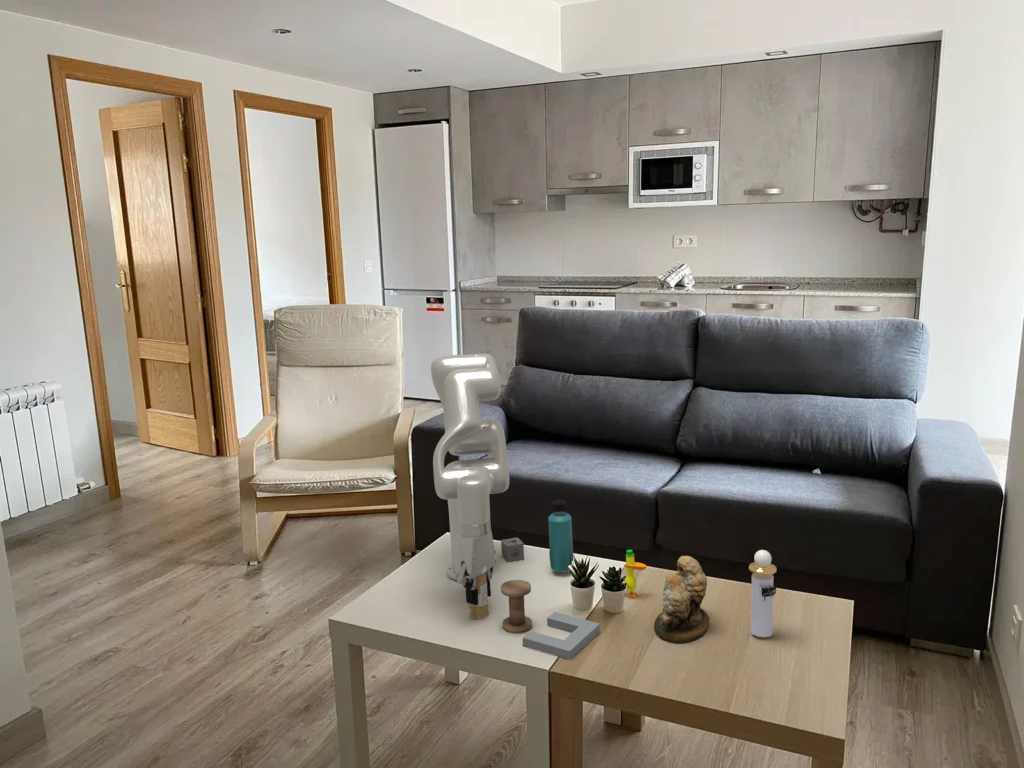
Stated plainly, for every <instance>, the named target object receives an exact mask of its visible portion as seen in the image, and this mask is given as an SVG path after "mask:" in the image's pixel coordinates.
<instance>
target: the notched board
mask: <svg viewBox="0 0 1024 768" xmlns="http://www.w3.org/2000/svg"><path fill="white" fill-rule="evenodd" d="M546 623H547V624H546V626H547V627H550V628H553V629H557V630H561V631H565V632H568V633H570V634H569V635H568V636H567V637H565V638H564V639H562V638H558V637H554V636H551V635H547V634H544V633H540V632H537V631H533V630H529V631H528V633H526V634H525V635H524V636H523V637H522V646H523V647H525V648H529V649H532V650H535V651H539V652H541V653H545V654H549V655H553V656H556V657H559V658H563V659H566V660H569V661H570V660H572V659H573V658H574V657H575V656H576V655H577V654H578V653H579V652H580V651H581V650H582V649H583V648H584V647H586V646H587V645H588V644H589V643H590V642H591V641H592V640H594V638H595V637H596V636H597V635H599V633H600V632H601V623H600V622H595V621H591V620H587V619H584V618H580V617H576V616H573V615H568V614H564V613H560V612H556V611H554V612H553V613H551V614H550V615H549V616H548V617H547V618H546ZM572 657H573V658H572Z"/></svg>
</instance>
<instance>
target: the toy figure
mask: <svg viewBox="0 0 1024 768" xmlns="http://www.w3.org/2000/svg"><path fill="white" fill-rule="evenodd" d="M623 566H624V567H625V568H626V573H627V575H626V577H625V578H624V579H625V580H626V583H627V589H626V590H627V592H629V594H628V596H629V598H631V597H633V598H632V599H637V597H638V595H639V594H638V593H636V592H634V591H635V590H636V589H637V578H636V577H635V576H634V572H635V570H636V571H637V570H638V571H644V570H646V569H647V567H648V566H647V565H646V564H645V563H642V562H637V561H635V553H633V549H627V550H626V554H625V563H624V565H623Z"/></svg>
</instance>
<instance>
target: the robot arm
mask: <svg viewBox="0 0 1024 768" xmlns="http://www.w3.org/2000/svg"><path fill="white" fill-rule="evenodd" d="M496 363H497V362H496V360H495V357H493V355H491V354H489V353H469V354H468V353H467V354H453V355H445V356H444V355H443V356H440V357H437V358H435V359H434V360H433V361H432V362H431V365H430V374H431V379H432V384H433V387H434V390H435V392H436V394H437V396H438V399H439V401H440V403H441V406H442V410H443V411H442V412H443V421H444V434H443V435H442V436H441V438H440V439H439V441H438V443H437V444H436V447H435V449H434V452H433V457H432V459H433V460H432V466H433V481H434V489H435V493H436V495H437V497H439V498H440V499H442V500H447V505H448V507H447V508H448V516H449V517H448V518H449V533H450V537H449V538H450V549H451V552H450V553H451V564H450V565H449V566H448V567H447V569H446V576H447V577H448V578H449V579H451V580H454V581H456V583H457V584H459V585H461V586H462V587H463V588H464V589H465V599H466V600H465V601H466V603H467V604H469V605H470V604H473V605H478V589H476V579H477V576H479V575H481V574H482V570H483V568H484V567H485V566H486V569H487V571H486V579H487V595H488V598H490V597H491V595H492V592H491V591H492V590H491V589H492V588H491V580H492V574H493V572H494V567H495V565H496V564H497V559H496V558H495V556H496V555H495V554H496V550H495V545H494V537H493V533H492V527H491V526H492V525H491V510H490V509H491V508H490V506H491V505H490V495H492V494H500V493H504V492H506V491H507V490H508V489H509V486H510V471H509V461H508V452H507V442H506V436H505V430H504V427H503V424H502V423H501V422H500V420H498V419H496V418H482V417H481V409H480V402H488V401H495V400H497V399H499V397H500V395H501V391H502V390H501V388H502V384H501V376H500V372H499V369H498V366H497V364H496ZM447 452H449V454H450V455H452V456H459V457H462V456H463V457H464V456H476V455H477V456H478V455H488V457H486V458H477V459H476V458H473V459H471V458H470V459H459V460H454V461H452V462H450V463H448V464H447V465H446V466H445V458H446V455H447ZM469 579H472V583H470V582H469Z"/></svg>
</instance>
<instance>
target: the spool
mask: <svg viewBox="0 0 1024 768" xmlns="http://www.w3.org/2000/svg"><path fill="white" fill-rule="evenodd" d="M500 592H501V594H502V595H504V596H505V597H508V612H509V613H508V614H509V616H508V617H506V618H505V619H503V620H502V629H503V631H505V632H507V633H509V634H514V635H516V634H524V633H527V632H530V631H532V629H533V624H534V623H533V620H532V618H530V616H527V615H526V613H525V611H526V610H525V609H526V608H525V607H526V606H525V596H527V595H530V593H531V592H532V585H531V583H530V582H529V581H527V580H524V579H511V580H507V581H505V582H503V583H501V585H500Z"/></svg>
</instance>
